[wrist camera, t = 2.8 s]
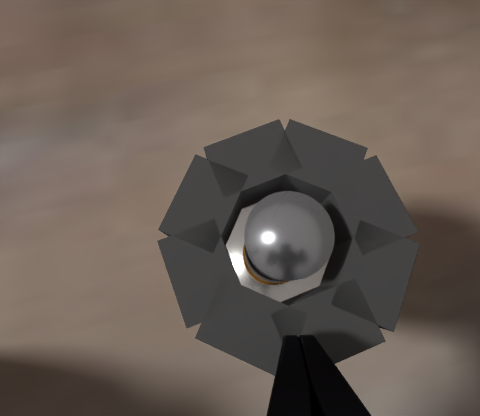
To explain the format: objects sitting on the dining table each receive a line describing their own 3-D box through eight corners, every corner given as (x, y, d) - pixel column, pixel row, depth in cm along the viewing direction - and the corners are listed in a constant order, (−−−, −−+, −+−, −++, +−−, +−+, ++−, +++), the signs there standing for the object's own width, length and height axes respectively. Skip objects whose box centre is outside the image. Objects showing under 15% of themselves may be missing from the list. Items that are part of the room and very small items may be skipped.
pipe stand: (312, 378, 20) (414, 515, 8) (159, 306, 21) (45, 332, 9) (365, 222, 22) (506, 146, 10) (225, 166, 24) (203, 40, 12)
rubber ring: (342, 391, 11) (367, 419, 9) (145, 300, 12) (121, 303, 10) (404, 195, 13) (440, 175, 11) (228, 128, 14) (224, 95, 12)
